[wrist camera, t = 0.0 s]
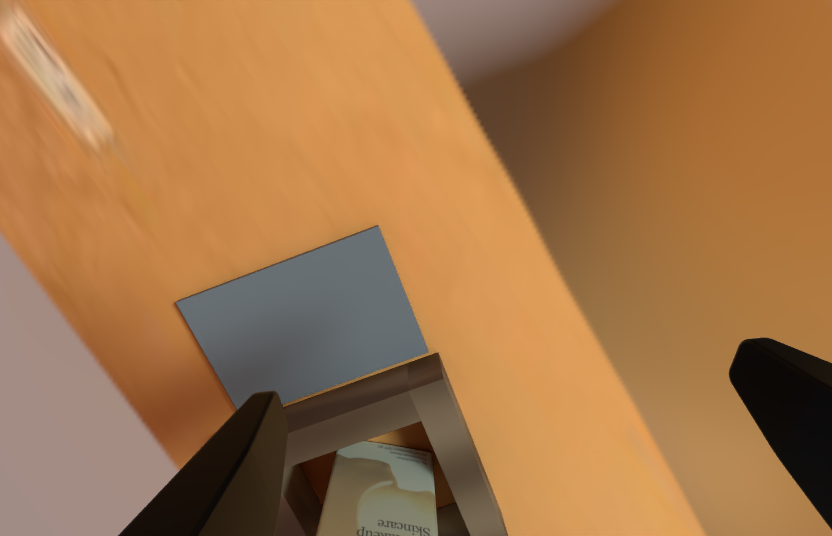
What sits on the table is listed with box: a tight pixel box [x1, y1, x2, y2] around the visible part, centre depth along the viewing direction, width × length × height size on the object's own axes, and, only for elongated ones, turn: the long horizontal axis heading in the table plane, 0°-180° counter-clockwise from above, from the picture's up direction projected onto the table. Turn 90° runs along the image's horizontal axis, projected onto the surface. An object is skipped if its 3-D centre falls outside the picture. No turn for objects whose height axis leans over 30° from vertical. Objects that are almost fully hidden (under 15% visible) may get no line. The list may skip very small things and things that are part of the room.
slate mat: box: [176, 225, 428, 410], centre depth 24 cm, size 8×12×1 cm, turn 110°
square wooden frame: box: [274, 353, 508, 536], centre depth 25 cm, size 13×13×3 cm
